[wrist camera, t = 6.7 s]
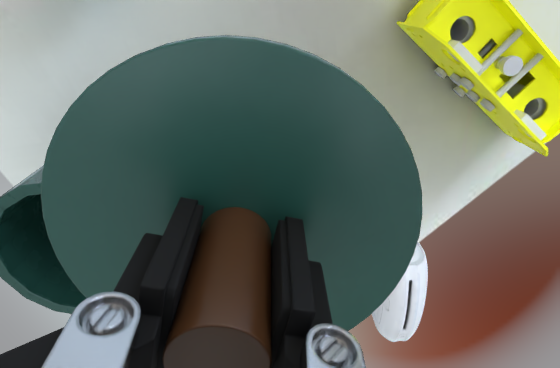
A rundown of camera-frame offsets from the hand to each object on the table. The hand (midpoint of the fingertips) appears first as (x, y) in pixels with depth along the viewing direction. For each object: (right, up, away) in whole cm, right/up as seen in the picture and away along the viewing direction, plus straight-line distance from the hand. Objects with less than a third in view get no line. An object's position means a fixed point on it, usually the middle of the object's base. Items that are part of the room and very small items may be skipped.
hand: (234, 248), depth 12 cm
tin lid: (0, +1, +1) cm, 1 cm away
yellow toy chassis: (+19, +14, +22) cm, 32 cm away
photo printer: (+12, -3, +31) cm, 33 cm away
